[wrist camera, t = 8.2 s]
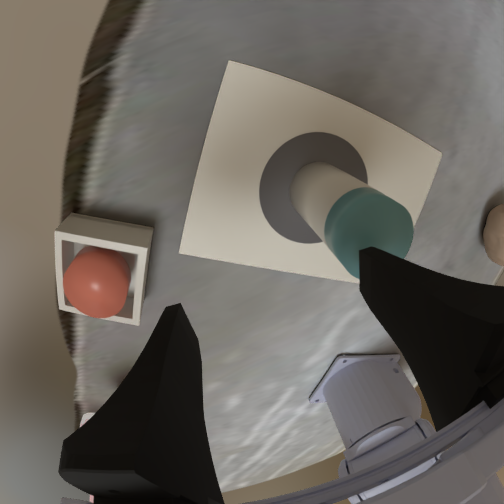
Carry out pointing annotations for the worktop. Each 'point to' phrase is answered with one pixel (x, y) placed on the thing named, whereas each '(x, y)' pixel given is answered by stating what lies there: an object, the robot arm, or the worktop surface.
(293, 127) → the paper sheet
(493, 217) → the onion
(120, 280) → the button
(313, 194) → the marker
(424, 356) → the robot arm
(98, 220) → the button housing
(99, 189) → the worktop surface
